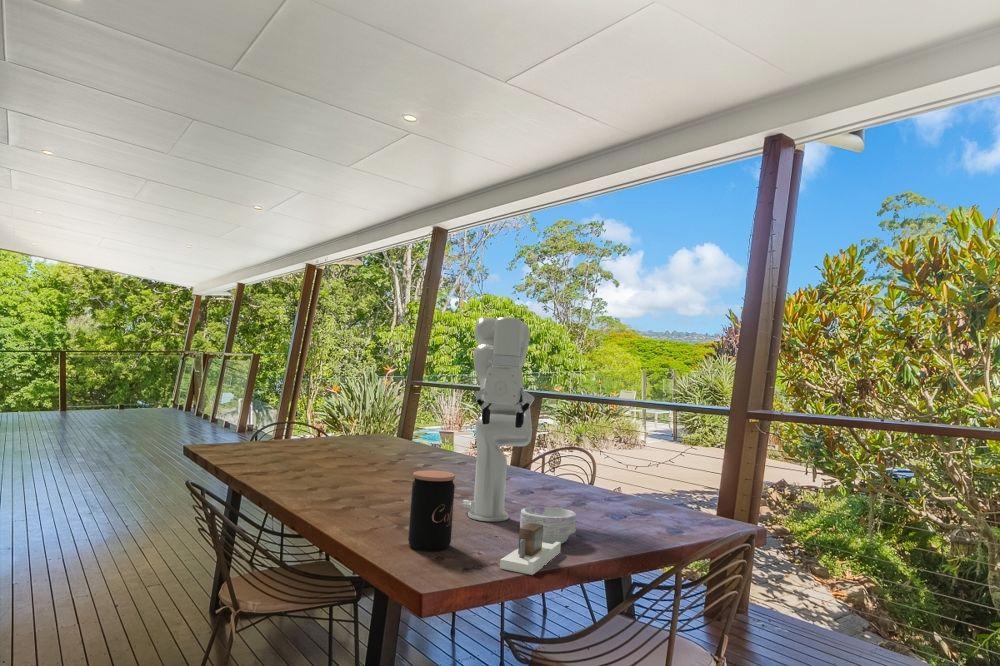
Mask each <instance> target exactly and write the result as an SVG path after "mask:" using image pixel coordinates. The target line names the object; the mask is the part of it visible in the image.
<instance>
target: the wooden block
mask: <svg viewBox="0 0 1000 666" xmlns="http://www.w3.org/2000/svg"><path fill="white" fill-rule="evenodd" d="M518 534H519V536H518V548H517V549H518V554H519V553H520V540H521V539H524V540H525V555H526V556H534V555H535V554H536V553H538V552H539V551H540V550H542V536H543V525H542V524H536V523H528V524H526V525H525V526H523V527H521V528H520V527H519V533H518Z"/></svg>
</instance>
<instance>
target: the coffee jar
mask: <svg viewBox="0 0 1000 666" xmlns="http://www.w3.org/2000/svg"><path fill="white" fill-rule="evenodd" d="M412 475H413V478H414V480H413V482H412V483H411V495H410V496H411V498H410V499H411V500H410V512H409V523H408V526H409V527H408V539H407V541H408V543H409V545H410V547H411V548H412V549H414V550H417V551H421V552H441V551H444V550H446V549H448V547H449V546H450V544H451V542H452V531H453V530H452V528H453V527H452V526H453V516H454V515H453V513H454V503H455V502H454V499H455V498H454V497H455V489H456V487H455V484H454V480H455V479H456V474H455V473H453V472H449V471H443V470H431V469H429V470H417V471H414V472H413V473H412Z"/></svg>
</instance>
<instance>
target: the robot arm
mask: <svg viewBox="0 0 1000 666" xmlns="http://www.w3.org/2000/svg"><path fill="white" fill-rule="evenodd" d="M474 326H475V327H474V337H475V342H476V343H477V344H479V345H478V346H476V347H475V349H474V352H473V367H474V372H475V374H476V378H477V381H478V383H479V385H480V387H479V390H478V391H475V392H474V396H475V400H476V403H477V404H478V406H479V407H480V412H481V415H480V416H479V417H478V418H477V420H476V423H475V435H476V436H475V437H476V462H475V479H474V490H473V491H474V493H473V500H470V499H469V500H468V499H463V500H462V507H463V508H469V510H468V512H467V516H468V518H470V519H471V520H477V521H480V522H481V521H482V522H489V523H490V522H493V523H494V522H495V523H496V522H504V521H507V520H508V519H509V518H510V516H509V513H508V512H506V511H505V502H506V500H505V499H506V485H507V484H506V482H507V468H508V467H507V466H508V461H507V460H508V459H507V457H506V455H505V453H504V452H503V451H502V449H500V447H501V446H502V447H503V446H504V447H505V446H506V447H526V446H528V445H530V443H531V440H532V436H533V425H532V416H531V406H532V404H533V402H534V401H535V396H533V395H532V394H530V393H528V392H527V391H525V390H524V376H523V369H522V368H523V367H524V366H525V364H526V363H525V362H526V358H527V355H528V354H527V352H528V350H529V349H528V348H529V344H530V338H531V337H530V329H529V326H528V324H527V323H525V322H523V321H522V320H521V319H519V318H518V317H507V316H502V317H498V318H494V317H479V318H478V319H477V320H476V322H475V325H474Z"/></svg>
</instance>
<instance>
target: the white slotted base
mask: <svg viewBox="0 0 1000 666" xmlns="http://www.w3.org/2000/svg"><path fill="white" fill-rule="evenodd" d="M561 546H562V544H561V542H555V543H554V544H549V543H543V542H542V550H540V551H539V552H538V553H536V554H535V555H534V556H526V555H525V540H524V539H521V540H520V553H519V554H518V548H517V549H515V550H513V551H511V552H510V553H509V554H507V555H505V556H504V557H502V558H500V559H499V561H500V563H499V569H501V570H506V571H510V572H515V573H521V574H525V575H531V576H533V575H535V574H536V573H537V572H538V571H540V570H541V569H543V566H544V565H545V566H546V565H548V564H549V563H550V562H551V561H552V560H551V559H552V558H554V557H555V556H556V555H558V554H559V553H560V554H561ZM560 554H559V555H560ZM559 555H558V556H559ZM555 558H556V557H555ZM555 558H554V559H555ZM550 560H551V561H550ZM549 561H550V562H549ZM548 562H549V563H548ZM547 563H548V564H547ZM545 566H544V567H545Z"/></svg>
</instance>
